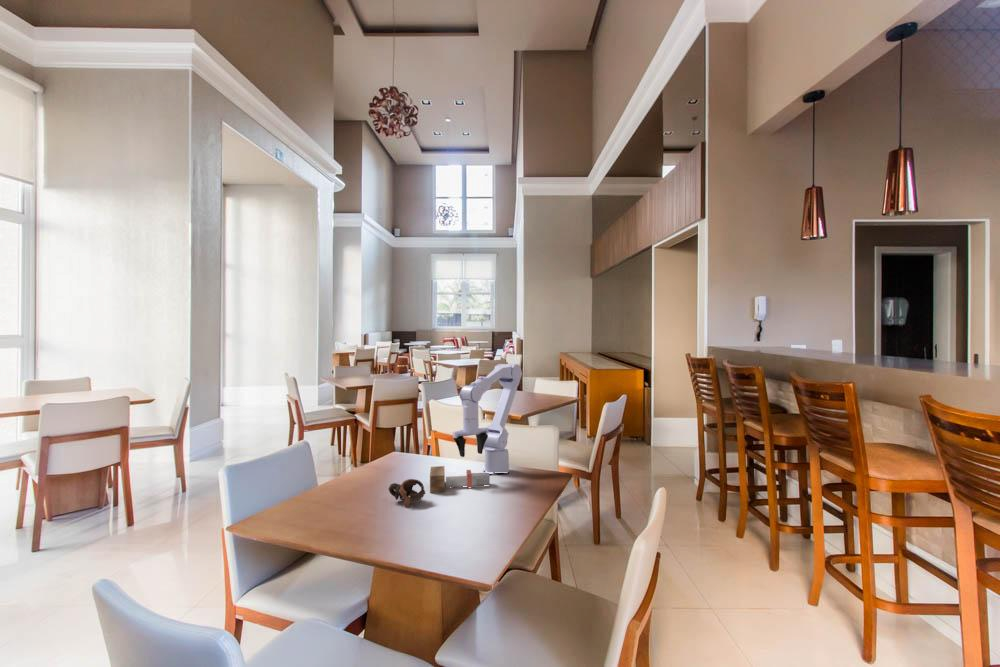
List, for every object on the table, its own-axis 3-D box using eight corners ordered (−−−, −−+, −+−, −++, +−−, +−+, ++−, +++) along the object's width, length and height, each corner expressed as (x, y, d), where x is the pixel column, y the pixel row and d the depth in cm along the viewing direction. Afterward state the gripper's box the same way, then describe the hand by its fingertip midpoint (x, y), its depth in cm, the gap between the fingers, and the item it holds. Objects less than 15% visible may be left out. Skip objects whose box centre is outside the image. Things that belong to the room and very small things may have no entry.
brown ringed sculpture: (424, 497, 161) (429, 479, 157) (418, 519, 152) (422, 501, 148) (390, 488, 160) (393, 470, 156) (381, 510, 152) (385, 492, 148)
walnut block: (444, 481, 176) (444, 466, 176) (444, 492, 164) (444, 475, 164) (430, 482, 175) (430, 466, 175) (430, 493, 163) (429, 476, 163)
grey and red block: (488, 482, 174) (488, 469, 174) (490, 487, 169) (489, 473, 169) (445, 484, 172) (445, 470, 173) (446, 489, 167) (446, 475, 167)
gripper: (481, 414, 184) (481, 449, 184) (448, 418, 176) (448, 455, 176) (491, 417, 178) (491, 453, 178) (457, 421, 170) (458, 459, 170)
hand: (471, 454), depth 177 cm, fingers open, 7 cm apart
